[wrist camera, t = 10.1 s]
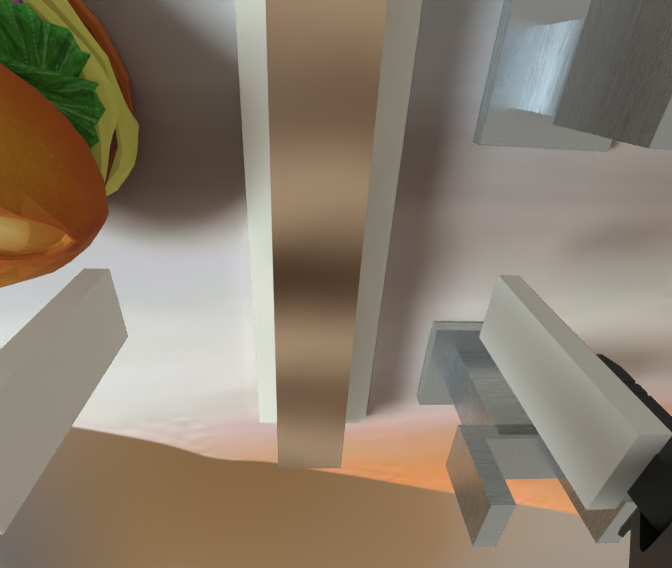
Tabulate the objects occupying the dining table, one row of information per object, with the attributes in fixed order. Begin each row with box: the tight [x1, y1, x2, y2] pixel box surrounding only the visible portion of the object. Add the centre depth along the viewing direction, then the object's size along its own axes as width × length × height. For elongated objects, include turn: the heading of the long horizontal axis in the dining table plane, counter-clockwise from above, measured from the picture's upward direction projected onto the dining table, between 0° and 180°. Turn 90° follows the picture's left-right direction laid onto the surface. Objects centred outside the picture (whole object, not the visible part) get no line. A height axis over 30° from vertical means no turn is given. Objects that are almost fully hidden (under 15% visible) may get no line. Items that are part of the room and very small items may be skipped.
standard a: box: [417, 322, 637, 547], centre depth 20 cm, size 6×6×10 cm
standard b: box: [474, 0, 672, 152], centre depth 12 cm, size 6×6×10 cm
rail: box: [265, 0, 387, 469], centre depth 17 cm, size 26×4×4 cm, turn 177°
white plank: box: [234, 0, 423, 423], centre depth 19 cm, size 26×7×1 cm, turn 177°
